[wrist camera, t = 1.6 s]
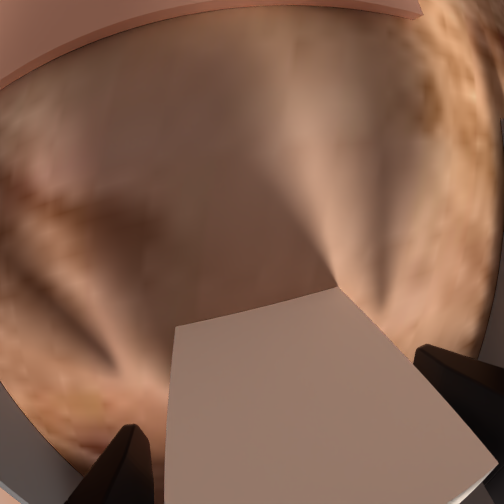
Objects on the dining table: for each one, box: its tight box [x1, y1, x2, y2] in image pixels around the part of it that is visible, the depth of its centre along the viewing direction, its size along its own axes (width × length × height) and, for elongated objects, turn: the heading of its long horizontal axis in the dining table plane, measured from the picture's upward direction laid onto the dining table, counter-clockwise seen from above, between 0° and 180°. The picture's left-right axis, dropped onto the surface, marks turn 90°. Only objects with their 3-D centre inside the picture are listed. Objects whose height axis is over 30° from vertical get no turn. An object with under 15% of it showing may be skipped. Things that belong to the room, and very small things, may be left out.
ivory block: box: [164, 287, 499, 504], centre depth 6 cm, size 5×5×7 cm
